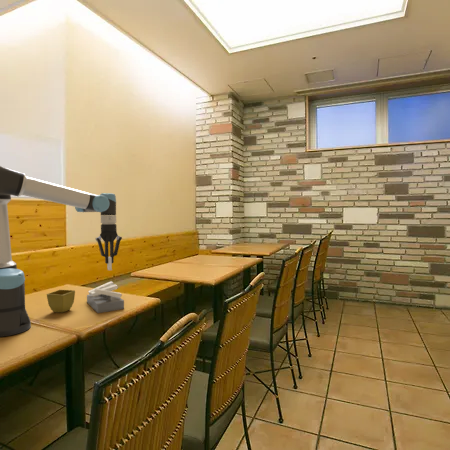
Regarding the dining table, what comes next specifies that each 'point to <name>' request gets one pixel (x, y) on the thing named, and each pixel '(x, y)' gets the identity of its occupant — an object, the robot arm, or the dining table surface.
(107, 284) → the bar
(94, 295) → the bar
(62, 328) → the dining table surface
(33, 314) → the dining table surface
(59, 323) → the dining table surface
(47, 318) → the dining table surface
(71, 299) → the flower pot
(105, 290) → the bar
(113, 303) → the switch panel
